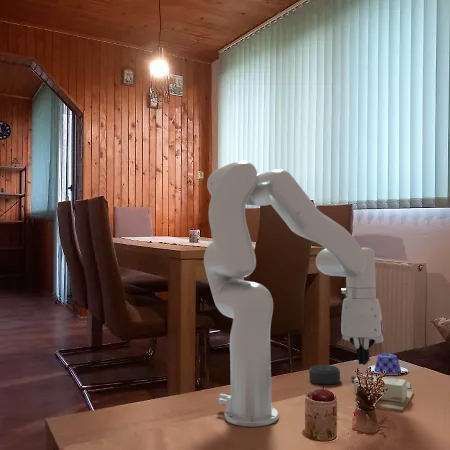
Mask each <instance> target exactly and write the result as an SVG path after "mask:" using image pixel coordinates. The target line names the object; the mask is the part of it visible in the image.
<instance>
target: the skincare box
mask: <svg viewBox="0 0 450 450" xmlns="http://www.w3.org/2000/svg"><path fill="white" fill-rule="evenodd" d="M362 375H363V376H365V377H366V375H367V374H362ZM368 376H369V377H371V376H373V378H374V380H373V383H375V381H376V375H375V376H374V375H368ZM382 377H383V376H382ZM382 380H383V381H384V383H385V387H383V388H381V390H383V389H387V388H388V390H387V391H386V392H385V394H384V395H383V396H382V397H381V398H380V399H381V400H388V401H395V402H402V403H403V401H404V400H405V398H406V397H407V391H408V388H407V382H408V381H407V379H401V378H391V377H383V378H382ZM369 381H370V380H369ZM356 382H358V378H357V377H356V378H355V379H354V381H353V397H357V396H356V390H357V387H358V385H359V384H357V383H356ZM362 382H363V381H362Z"/></svg>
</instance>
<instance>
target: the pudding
mask: <svg viewBox="0 0 450 450" xmlns="http://www.w3.org/2000/svg"><path fill="white" fill-rule="evenodd" d="M376 357H377V358H376V361H375V364H374V365H373V364H372V365H369V366H368V367H367V369H368V368H369V367H371V371H370V372H372V371H374V372H373V373H375V374H378V373H379V372H383V371H386V374H385V375H388V376H389V375H390V376H393V375H395V376H396V375H398V374H397V373H399V372H400V373H402V371H407V373H408V372H409V370H408V369H407V368H405V367H402V366H400V361H399V359H398V356H397V355H395V354H393V353H380V354H378V355H377V356H376ZM378 371H379V372H378ZM400 373H399V374H400ZM398 376H399V375H398Z"/></svg>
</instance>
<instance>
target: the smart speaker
mask: <svg viewBox="0 0 450 450" xmlns="http://www.w3.org/2000/svg"><path fill="white" fill-rule="evenodd" d="M308 373H309V375H308V376H309V381H311V382H312V383H314V384H316V385H322V386H323V385H324V386H328V385H329V386H331V385H335V384H338V383H339V382H340V381H341V371H340V369H339V368H338V367H337V366H335V365H331V364H330V365H327V364H317V365H312V366H311V367H310V368H309V372H308Z"/></svg>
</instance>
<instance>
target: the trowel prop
mask: <svg viewBox="0 0 450 450" xmlns="http://www.w3.org/2000/svg"><path fill="white" fill-rule="evenodd" d="M357 376H358V375H354V374H353V375H351V382H354V379H355V378H356V377H357ZM409 388H410V389H411V382H410V381H407V389H409Z"/></svg>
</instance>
